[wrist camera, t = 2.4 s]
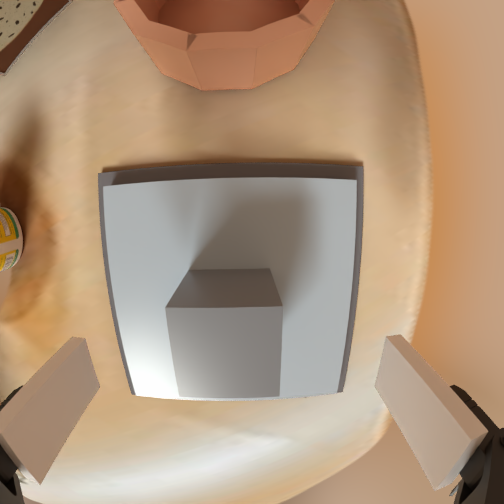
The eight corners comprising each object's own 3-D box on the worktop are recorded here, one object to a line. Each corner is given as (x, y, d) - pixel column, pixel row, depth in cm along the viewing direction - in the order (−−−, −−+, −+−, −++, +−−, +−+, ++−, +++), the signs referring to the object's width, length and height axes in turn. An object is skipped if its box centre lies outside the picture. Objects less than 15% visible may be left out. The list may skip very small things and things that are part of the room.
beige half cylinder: (63, -25, 13) (20, -69, 3) (85, -10, 14) (36, -64, 4) (-16, 62, 14) (-74, 42, 4) (-4, 88, 15) (-73, 69, 5)
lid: (139, 386, 21) (112, 447, 14) (110, 186, 18) (48, 188, 11) (333, 384, 21) (360, 446, 14) (349, 180, 18) (406, 178, 11)
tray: (133, 391, 21) (131, 394, 21) (100, 173, 18) (98, 173, 17) (341, 389, 22) (342, 391, 22) (360, 166, 18) (363, 166, 18)
